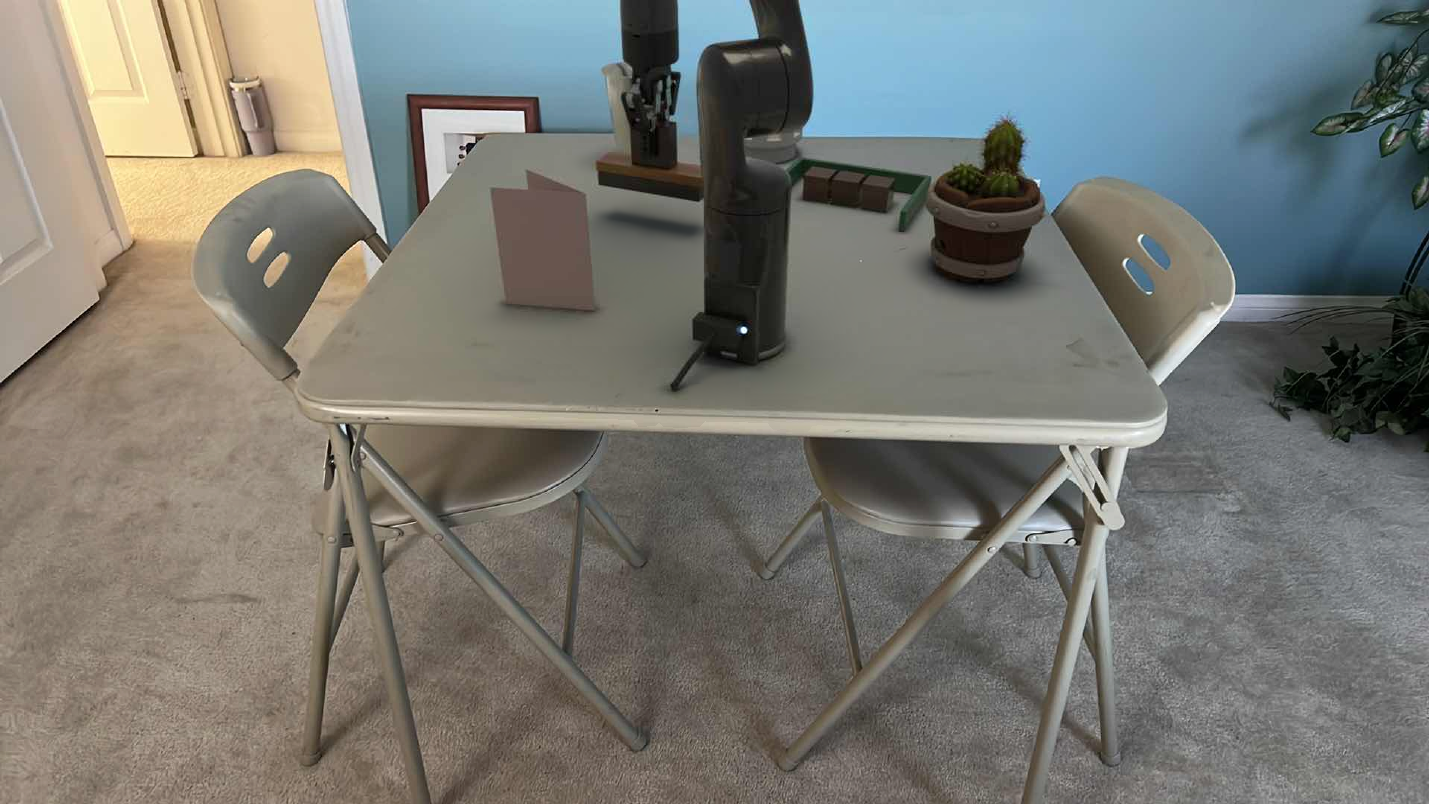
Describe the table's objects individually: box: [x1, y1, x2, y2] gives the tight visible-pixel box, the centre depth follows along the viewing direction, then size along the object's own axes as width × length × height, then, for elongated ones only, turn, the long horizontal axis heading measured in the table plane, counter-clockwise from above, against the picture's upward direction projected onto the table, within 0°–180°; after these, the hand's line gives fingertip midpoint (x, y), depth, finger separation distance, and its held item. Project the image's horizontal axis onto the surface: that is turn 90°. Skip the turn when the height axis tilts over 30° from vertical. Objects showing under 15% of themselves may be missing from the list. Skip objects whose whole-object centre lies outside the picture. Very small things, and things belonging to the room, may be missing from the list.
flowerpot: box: [925, 109, 1046, 284], centre depth 119 cm, size 14×15×20 cm
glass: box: [600, 61, 650, 155], centre depth 152 cm, size 11×11×30 cm
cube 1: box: [860, 175, 896, 213], centre depth 142 cm, size 4×4×4 cm
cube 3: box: [802, 167, 837, 204], centre depth 145 cm, size 4×4×4 cm
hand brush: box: [595, 118, 704, 203], centre depth 132 cm, size 5×17×10 cm, turn 66°
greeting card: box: [489, 168, 596, 312], centre depth 112 cm, size 11×7×15 cm, turn 45°
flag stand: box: [744, 127, 804, 164], centre depth 155 cm, size 13×13×30 cm
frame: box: [785, 156, 932, 232], centre depth 143 cm, size 16×22×3 cm
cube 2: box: [830, 171, 866, 209], centre depth 143 cm, size 4×4×4 cm
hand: (654, 153), depth 132 cm, fingers closed on hand brush, 2 cm apart
